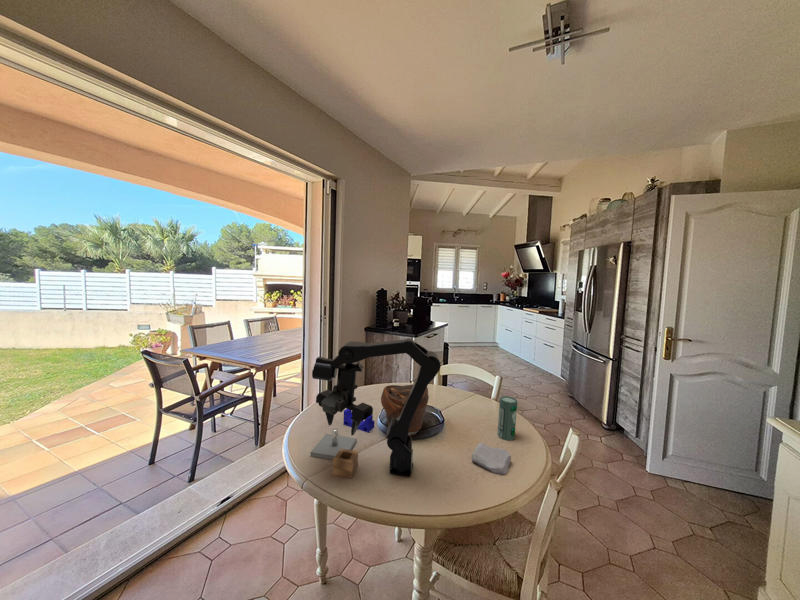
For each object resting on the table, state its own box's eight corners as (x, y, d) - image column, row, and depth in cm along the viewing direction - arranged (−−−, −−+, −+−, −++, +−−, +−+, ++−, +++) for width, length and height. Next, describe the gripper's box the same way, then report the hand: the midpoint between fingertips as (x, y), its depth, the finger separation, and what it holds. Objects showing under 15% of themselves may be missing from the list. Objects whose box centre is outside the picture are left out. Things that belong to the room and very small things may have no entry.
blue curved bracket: (374, 427, 122) (374, 413, 121) (368, 432, 118) (368, 418, 117) (350, 420, 127) (350, 406, 126) (343, 424, 123) (343, 410, 122)
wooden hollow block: (357, 466, 97) (358, 451, 96) (351, 478, 91) (351, 462, 91) (340, 463, 98) (340, 448, 98) (332, 475, 92) (332, 459, 92)
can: (516, 440, 116) (519, 402, 114) (500, 440, 116) (503, 402, 114) (510, 432, 122) (513, 396, 120) (495, 431, 122) (498, 395, 120)
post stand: (356, 442, 110) (357, 423, 110) (344, 461, 99) (344, 441, 98) (326, 437, 113) (326, 419, 112) (310, 456, 101) (310, 436, 100)
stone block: (505, 482, 95) (512, 460, 103) (505, 470, 93) (512, 448, 102) (468, 470, 101) (477, 450, 109) (468, 458, 100) (477, 439, 108)
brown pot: (370, 427, 121) (372, 384, 120) (406, 413, 135) (408, 374, 133) (399, 448, 108) (401, 399, 106) (436, 430, 121) (439, 387, 120)
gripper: (305, 381, 92) (300, 429, 93) (354, 399, 83) (348, 453, 84) (330, 372, 102) (325, 416, 103) (376, 388, 93) (370, 436, 94)
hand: (341, 429), depth 96 cm, fingers open, 9 cm apart
